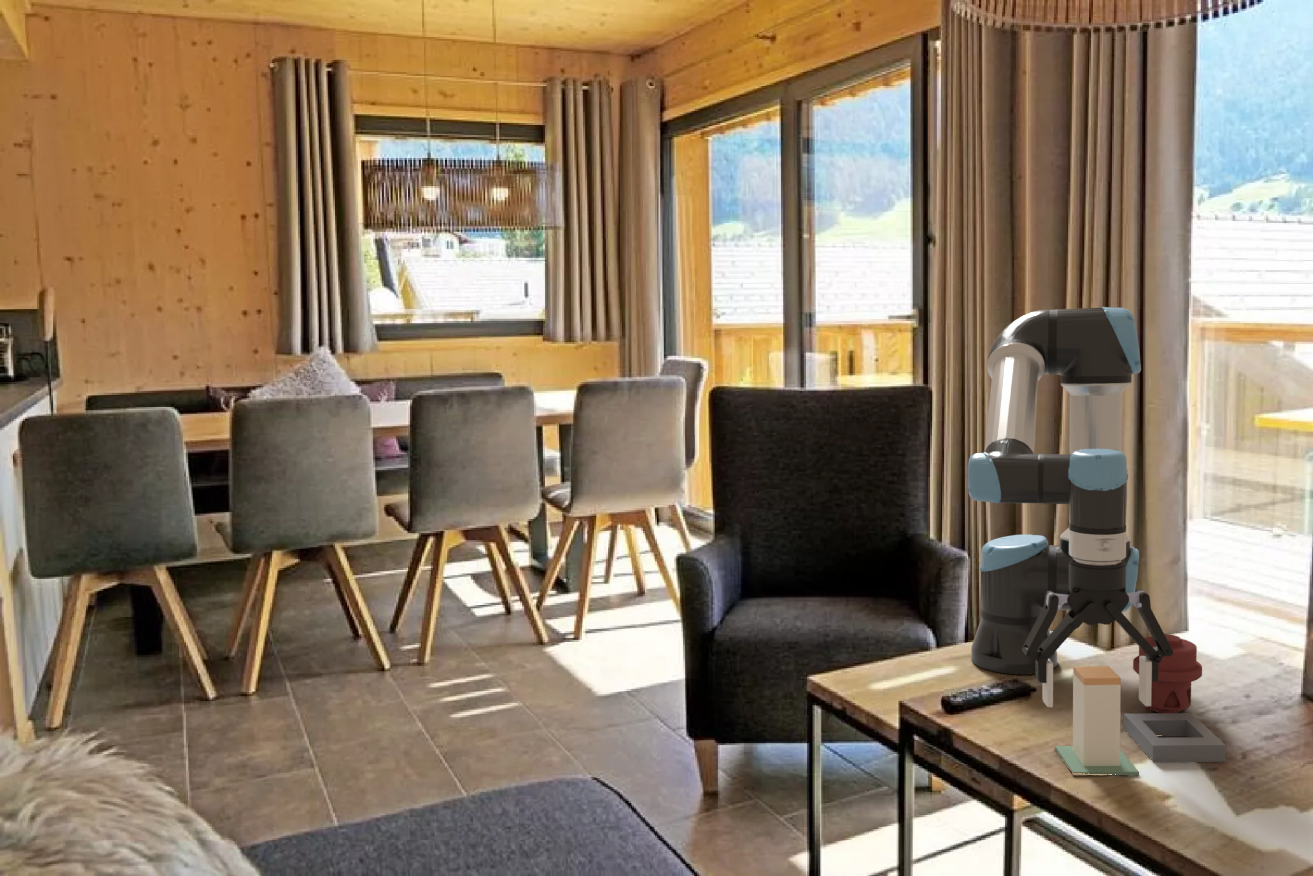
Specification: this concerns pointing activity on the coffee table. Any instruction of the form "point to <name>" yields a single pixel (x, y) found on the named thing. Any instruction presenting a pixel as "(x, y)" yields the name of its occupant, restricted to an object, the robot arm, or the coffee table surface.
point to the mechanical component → (1173, 675)
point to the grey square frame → (1190, 749)
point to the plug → (1096, 715)
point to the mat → (1077, 766)
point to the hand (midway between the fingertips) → (1096, 703)
